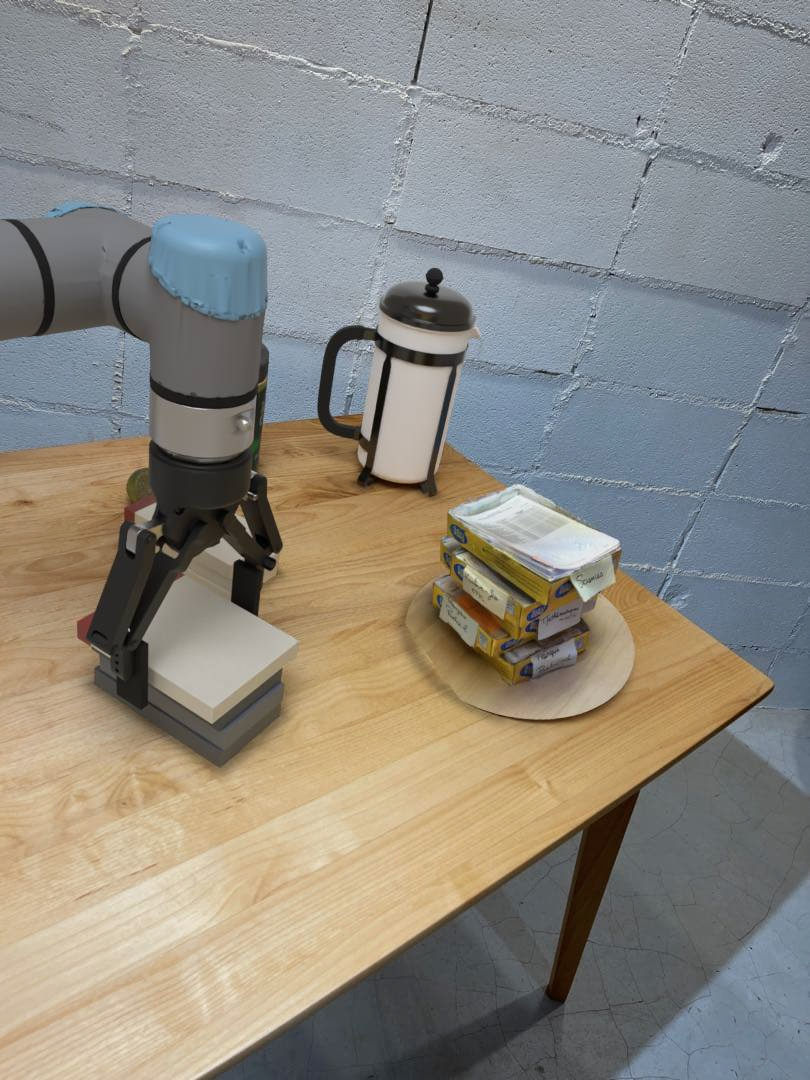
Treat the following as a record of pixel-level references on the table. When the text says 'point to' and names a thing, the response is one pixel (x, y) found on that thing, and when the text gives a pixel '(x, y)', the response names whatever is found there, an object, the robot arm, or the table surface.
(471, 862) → the table surface
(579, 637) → the paper stack
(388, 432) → the coffee press
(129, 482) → the lime
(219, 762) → the grey stack
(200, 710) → the white book
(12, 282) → the robot arm
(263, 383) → the coffee jar
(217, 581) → the white stack
